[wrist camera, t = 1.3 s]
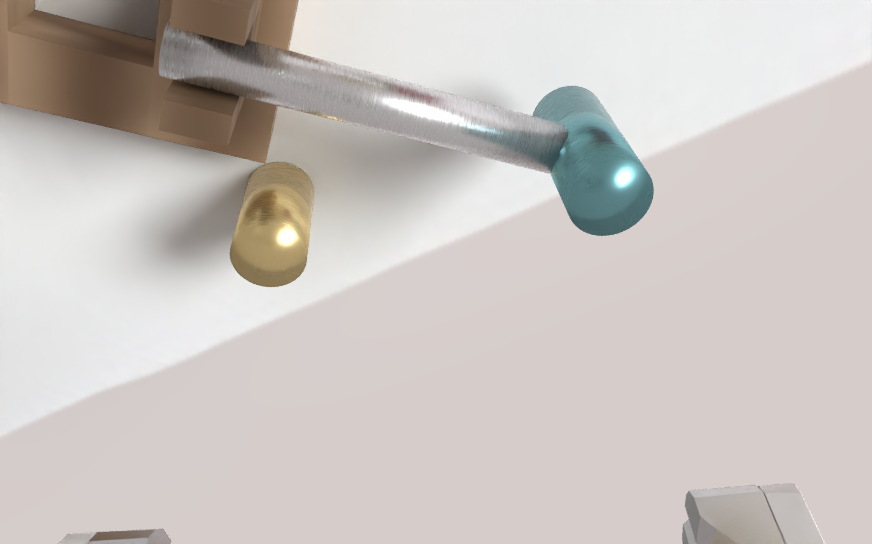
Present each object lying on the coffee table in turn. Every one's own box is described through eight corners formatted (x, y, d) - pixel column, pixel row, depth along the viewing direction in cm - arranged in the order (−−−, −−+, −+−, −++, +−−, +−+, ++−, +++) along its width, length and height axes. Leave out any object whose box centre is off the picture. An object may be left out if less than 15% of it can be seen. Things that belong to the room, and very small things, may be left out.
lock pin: (181, 56, 30) (137, 128, 24) (190, -24, 28) (146, 34, 22) (585, 160, 34) (630, 243, 28) (614, 96, 32) (669, 170, 26)
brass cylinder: (242, 212, 39) (224, 278, 34) (252, 155, 37) (235, 217, 32) (306, 225, 39) (298, 293, 34) (320, 170, 38) (313, 233, 33)
